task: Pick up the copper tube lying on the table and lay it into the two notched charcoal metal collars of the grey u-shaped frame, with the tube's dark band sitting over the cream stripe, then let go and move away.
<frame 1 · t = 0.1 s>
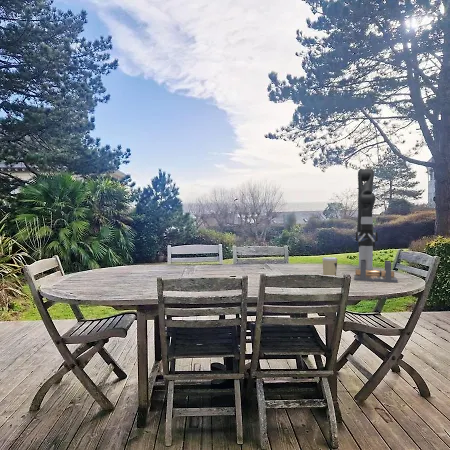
hand: (366, 247, 259), 17 cm above the table, tool pointing down, fingers open, 8 cm apart
coffee cup: (329, 276, 242), on the table
copper tube: (374, 273, 242), point 2 cm above the table
grey u-shaped frame: (375, 279, 230), on the table
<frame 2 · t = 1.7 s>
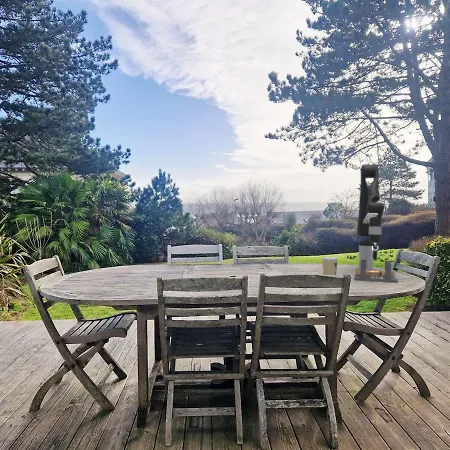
hand: (374, 259, 242), 11 cm above the table, tool pointing down, fingers open, 8 cm apart
nothing on the table moved.
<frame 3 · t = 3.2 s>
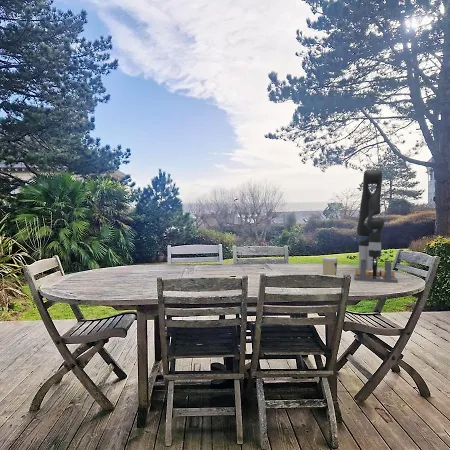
hand: (374, 275, 242), 0 cm above the table, tool pointing down, fingers closed on copper tube, 4 cm apart
copper tube: (374, 273, 242), point 2 cm above the table, touching gripper
everything else where it was.
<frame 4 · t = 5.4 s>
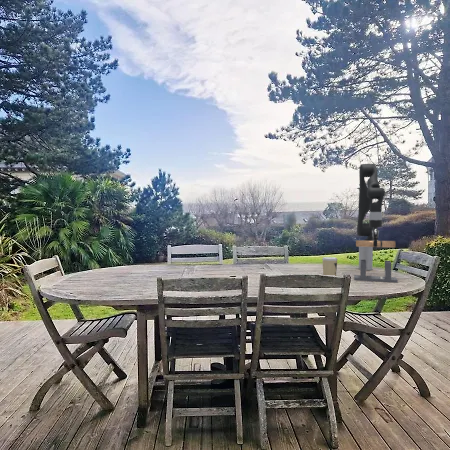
hand: (375, 246, 240), 20 cm above the table, tool pointing down, fingers closed on copper tube, 4 cm apart
copper tube: (375, 243, 240), point 21 cm above the table, touching gripper
everything else where it was.
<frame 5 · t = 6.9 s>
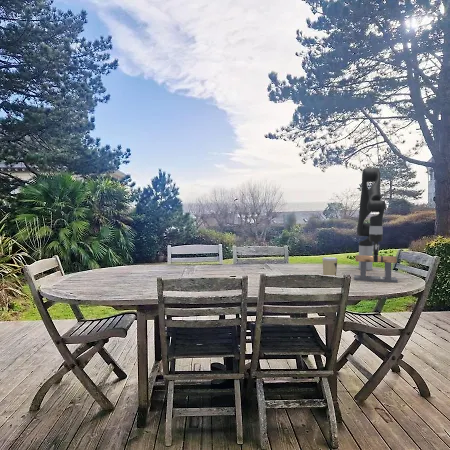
hand: (375, 261, 230), 11 cm above the table, tool pointing down, fingers closed on copper tube, 4 cm apart
copper tube: (375, 259, 230), point 13 cm above the table, touching gripper
everything else where it was.
when the fingers open (8 cm above the table, at t = 7.9 s): copper tube stays where it is, resting on grey u-shaped frame.
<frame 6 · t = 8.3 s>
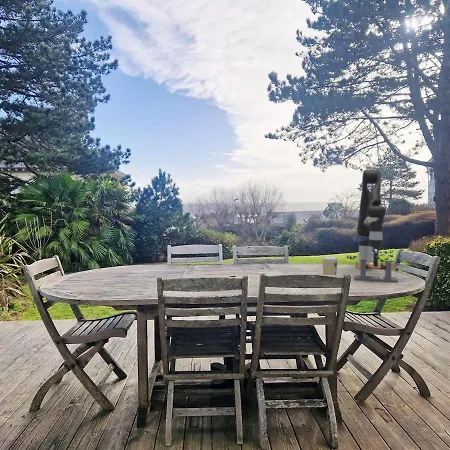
hand: (375, 265, 230), 9 cm above the table, tool pointing down, fingers open, 7 cm apart
copper tube: (375, 266, 230), point 8 cm above the table, touching grey u-shaped frame
everything else where it was.
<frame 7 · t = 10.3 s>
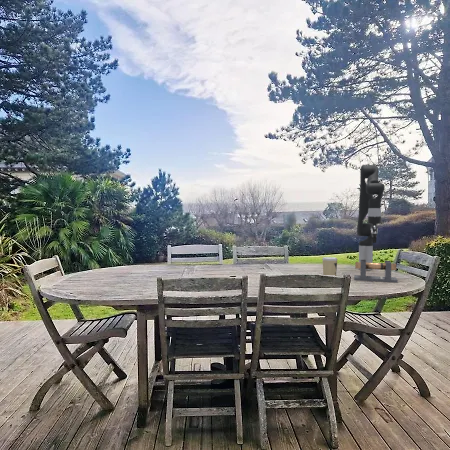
hand: (374, 242, 233), 23 cm above the table, tool pointing down, fingers open, 8 cm apart
nothing on the table moved.
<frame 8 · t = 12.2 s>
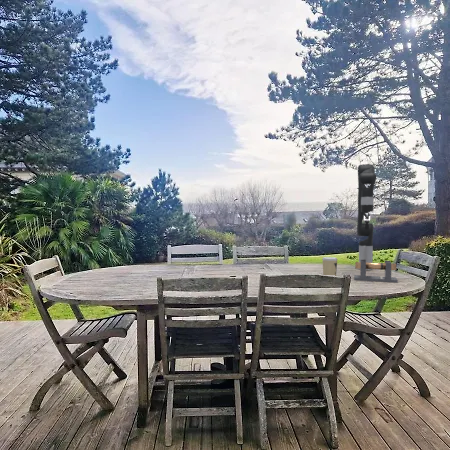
hand: (366, 229, 243), 30 cm above the table, tool pointing down, fingers open, 8 cm apart
nothing on the table moved.
at the end: copper tube 0.1 cm off-centre on the grey u-shaped frame, point 8.5 cm above the grey u-shaped frame's base; copper tube touching grey u-shaped frame; the gripper is holding nothing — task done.
